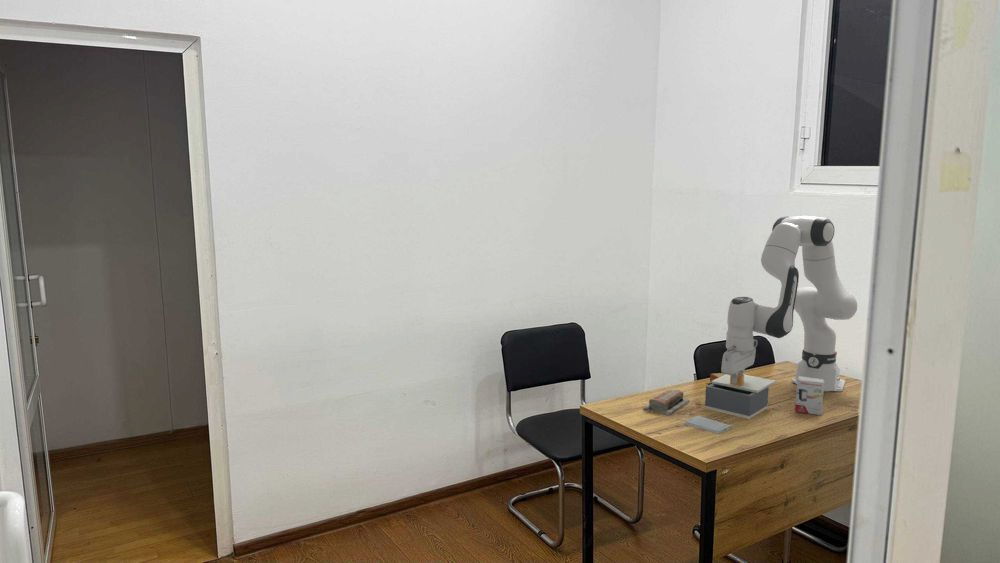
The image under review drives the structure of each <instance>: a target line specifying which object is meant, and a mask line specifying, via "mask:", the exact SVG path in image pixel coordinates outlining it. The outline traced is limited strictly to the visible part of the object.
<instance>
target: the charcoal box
mask: <svg viewBox="0 0 1000 563" xmlns="http://www.w3.org/2000/svg"><path fill="white" fill-rule="evenodd" d="M769 388H770V386H769V387H767V388H766V389H764V390H762V391H760V392H758V393H755V392H750V391H746V390H741V389H736V388H732V387H727V386H722V385H718V384H713V383H712V384H711V383H710V384H709V385H707V386H705V399H704V409H705V410H711V411H714V412H719V413H722V414H727V415H731V416H735V417H739V418H742V419H743V418H744V419H747V420H750V419H752V418H754V417H756V416H757V415H758V414H760V413H762V412H763V411H765V410H766V409H768V402H769V390H770V389H769Z"/></svg>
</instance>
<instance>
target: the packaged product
mask: <svg viewBox="0 0 1000 563" xmlns="http://www.w3.org/2000/svg"><path fill="white" fill-rule="evenodd" d="M648 402H649V404H647V405H646V406H644V407H643V411H647V410H649V412H651V411H653V412H652V413H656V412H657V414H660V415H661V414H662V415H666V416H671V415H673V414H674V413H676V412H678V411H679V410H681V409H684V407H686V406H687V405H688V403H689V404H690V399H687V398H684V392H683V391H681V390H680V389H679V390H678V389H669V390H665V391H664V392H661V393H659V394H658V395H656V396H654V397H652V398H650V399H649V401H648Z"/></svg>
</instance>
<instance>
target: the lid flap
mask: <svg viewBox="0 0 1000 563" xmlns="http://www.w3.org/2000/svg"><path fill="white" fill-rule="evenodd" d="M737 377H738V383H736V384H734V383H732V377H731V375H727V374H726V375H723V376H721V377H719V378H717V379H715V380H713V381H711V383H713V384H718V385H722V386H727V387H732V388H736V389H741V390H746V391H750V392H755V393H758V392H760V391H762V390H764V389H766V388H767V387H769V388H770V387H771V386H772V385H775V384H776V382H777V381H776V380H773V379H768V378H764V377H759V376H752V375H747V374H745V373H744V374H743V375H740V374H737ZM711 383H710V384H711Z"/></svg>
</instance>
